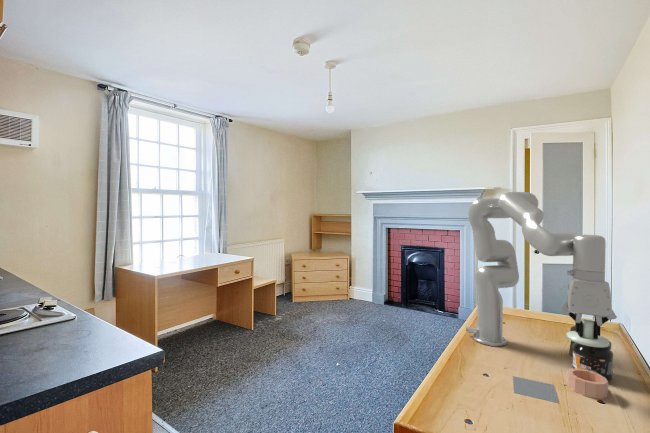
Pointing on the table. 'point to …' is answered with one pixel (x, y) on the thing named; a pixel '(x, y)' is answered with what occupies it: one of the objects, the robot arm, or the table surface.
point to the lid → (588, 336)
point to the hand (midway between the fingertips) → (587, 335)
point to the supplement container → (594, 359)
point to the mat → (535, 389)
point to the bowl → (587, 383)
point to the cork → (571, 343)
